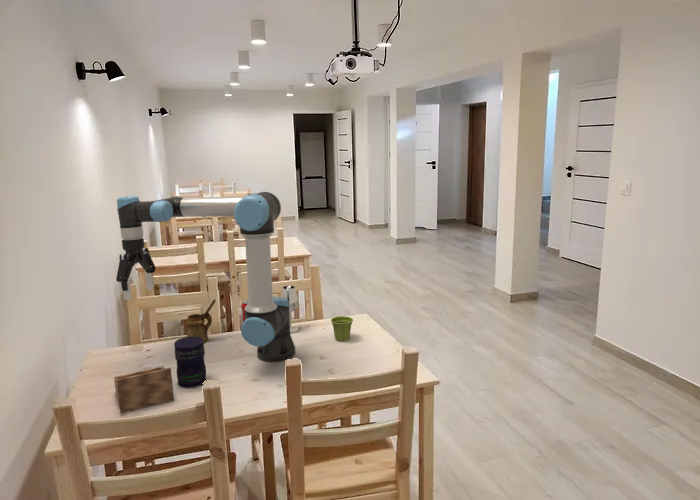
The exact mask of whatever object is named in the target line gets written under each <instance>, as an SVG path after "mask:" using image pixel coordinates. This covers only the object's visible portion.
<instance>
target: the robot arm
mask: <svg viewBox="0 0 700 500" xmlns="http://www.w3.org/2000/svg"><path fill="white" fill-rule="evenodd" d="M116 203H117V204H116V205H117V207H116V210H117V215H118V221H119V228H120V230H119V231H120V236H121V239H122V240H121V246H122V247H121V248H122V250H123V251H125V253H124V254H122V253H121V254H119V263H118V268H117V274H116V278H115V279H116V280H115V281H116V282H118V283H120V284H121V290H122V294H123V300H132V299H133V298H132V289H131V282H130V281H129V278H130V276H131V272H132V270H133V267H134V266H135V265H136V264H139V265H140V266H141V267H142V269H143V270H144V271H145V273H144V277H145V286H146V287H145V288H146V290H147V291H149V290H151V291H152V290H155V285H154V274H153V273H155V272H156V270H157V268H156V267H157V266H156V265H155V263H154V261H153V259H152V256H151V254H150V251H149V248H147V247H145V246H146V245H145V240H144V238H143V237H144V228H143V223H157V222H158V223H162V222H169V221H170V220H171V219H172V218H189V217H190V218H191V217H192V218H193V217H195V218H196V217H198V218H201V217H202V218H209V217H210V218H213V217H214V218H216V217H217V218H222V217H223V218H224V217H227V218H228V217H229V218H230V217H232V218H233V217H234V221H235V222H236V224H237V225H238V226H239V231H240V232H239V234H240V236H242V237H243V238H244V241H245V242H244V243H245V260H246V262H245V263H246V277H247V278H246V279H247V280H246V281H247V297H248V301H249V303H248V305H247V306H246V307H245V321H244V322H243V324H242V323H241V327H240V333H241V336H242V338H243V340H244V341H246V342H247V343H248V344H249V345H251V346H254V347H257V348H256V356H257V358H258V359H259V360H261V361H264V362H271V363H273V362H274V363H275V362H283V361H287V360H289V359H291V358H293V357H294V356H296V345H295V342H294V340H293V337H292V336H291V335H292V334H291V333H290V312H289V308H290V306H289V301H288V299H286V298H283V297H281V296H273V277H272V254H271V237H272V235H273V234H274V233H275V228H274V222H275V221H276V220H277V219H279V216H280V214H281V212H282V206H281V201H280V200H279V198H278V197H277V196H276V195H275V194H273V193H272V192H269V191H261V192H258V193H247V194H245V196H191V197H190V196H185V197H182V196H171V197H168V198H161V199H157V200H156V199H155V200H149V201H140V197H139V196H137V195H133V196H132V195H130V196H129V195H128V196H119V197H118V198H117V199H116ZM286 359H287V360H286Z"/></svg>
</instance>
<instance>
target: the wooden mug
mask: <svg viewBox="0 0 700 500" xmlns="http://www.w3.org/2000/svg"><path fill="white" fill-rule="evenodd" d="M215 303H216V299H213V300H212V301H211V302H210V304H209V305H208V307H207V308H206V310H205V312H203V313H201V314H200V313H194V314H192V313H191V314H190V315H187V319H186V325H187V326H186V337H201V338H202V339H203V343H204V344H205V343H206V342H208V340H209V335H208V330H209V329H210V327H211V325H212V321H213V319H212V318H213V317H212V315H211V314H210V313H209V312H210V311H211V309H212V308H213V306H214V305H215ZM206 321H207V323H206V324H205V322H206Z"/></svg>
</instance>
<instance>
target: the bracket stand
mask: <svg viewBox="0 0 700 500" xmlns="http://www.w3.org/2000/svg"><path fill="white" fill-rule="evenodd" d="M172 375H173V374H172V367H166V368H165V367H164V366H159V367H153V368H150V369H144V370H140V371H136V372H130V373H126V374H122V375H116V376H114V377H113V382H114V389H115V395H116V401H117V403H118V408H119V411H120V414H123V413H126V412H131V411H135V410H138V409H143V408H146V407H151V406H154V405H159V404H162V403H163V404H164V403H166V402H170V401H174V400H175V396H174V386H173V376H172Z"/></svg>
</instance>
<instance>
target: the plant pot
mask: <svg viewBox="0 0 700 500" xmlns="http://www.w3.org/2000/svg"><path fill="white" fill-rule="evenodd" d="M330 322H331V324H332V328H333V333H334V339H335V340H336V341H338V342H346V341H349V340H350V338H351V337H350V336H351V330H352V324H353V322H354V318H352V317H350V316H345V315H341V316H334V317H332V318H331V319H330Z"/></svg>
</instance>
